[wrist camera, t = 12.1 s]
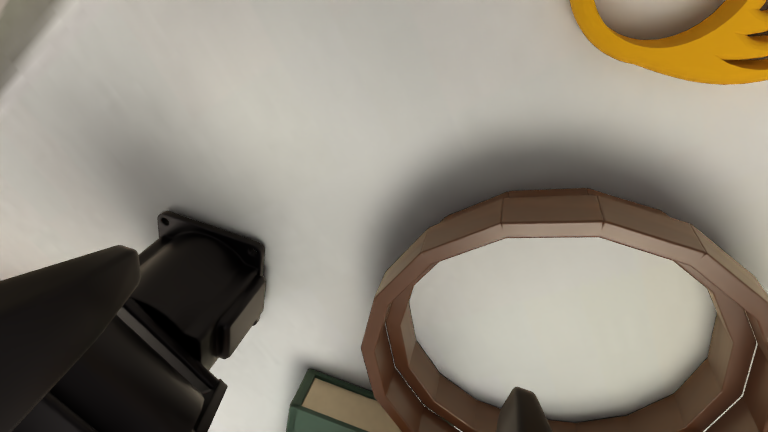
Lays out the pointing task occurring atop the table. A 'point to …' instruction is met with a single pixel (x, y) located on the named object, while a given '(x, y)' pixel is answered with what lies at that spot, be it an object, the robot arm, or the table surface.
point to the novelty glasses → (692, 44)
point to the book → (336, 407)
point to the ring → (575, 219)
